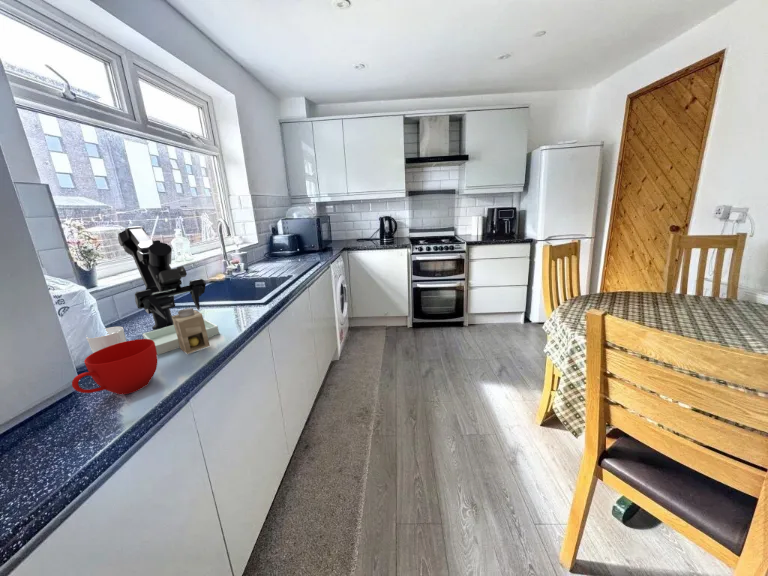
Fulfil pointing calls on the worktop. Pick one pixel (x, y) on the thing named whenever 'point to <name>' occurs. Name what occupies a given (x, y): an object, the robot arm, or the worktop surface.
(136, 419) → the worktop surface
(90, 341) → the white cup
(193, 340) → the ball
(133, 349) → the ceramic cup
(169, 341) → the tray
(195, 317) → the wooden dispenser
